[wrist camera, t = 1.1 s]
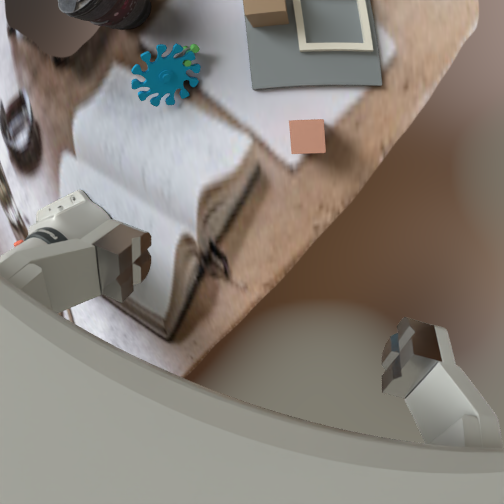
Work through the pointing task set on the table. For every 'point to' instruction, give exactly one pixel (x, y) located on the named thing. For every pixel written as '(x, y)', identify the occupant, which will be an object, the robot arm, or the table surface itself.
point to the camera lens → (108, 12)
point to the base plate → (311, 43)
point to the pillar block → (307, 136)
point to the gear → (167, 73)
